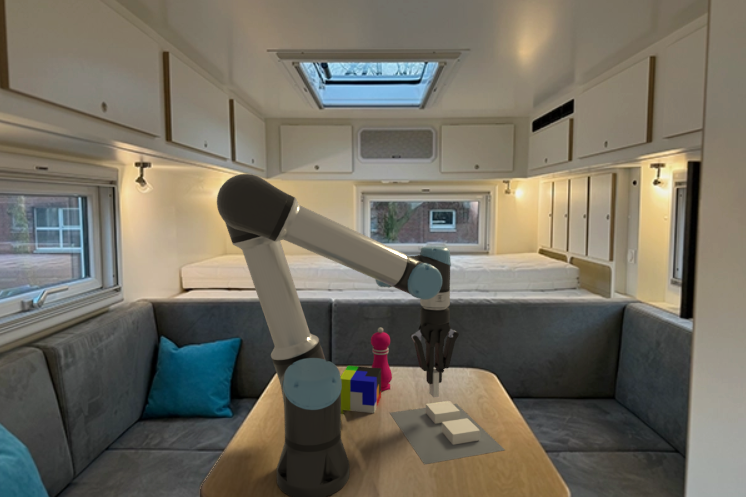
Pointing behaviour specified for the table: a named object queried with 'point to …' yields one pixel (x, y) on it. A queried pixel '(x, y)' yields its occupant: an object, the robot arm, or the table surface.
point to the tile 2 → (460, 431)
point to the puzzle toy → (360, 389)
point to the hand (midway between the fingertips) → (434, 394)
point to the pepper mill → (381, 357)
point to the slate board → (440, 437)
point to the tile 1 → (442, 412)
